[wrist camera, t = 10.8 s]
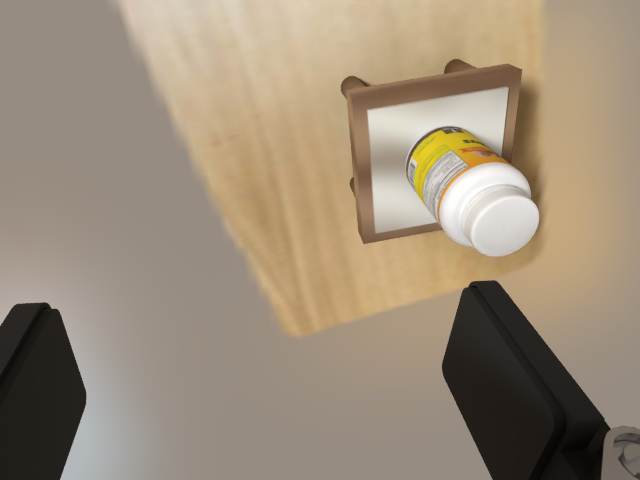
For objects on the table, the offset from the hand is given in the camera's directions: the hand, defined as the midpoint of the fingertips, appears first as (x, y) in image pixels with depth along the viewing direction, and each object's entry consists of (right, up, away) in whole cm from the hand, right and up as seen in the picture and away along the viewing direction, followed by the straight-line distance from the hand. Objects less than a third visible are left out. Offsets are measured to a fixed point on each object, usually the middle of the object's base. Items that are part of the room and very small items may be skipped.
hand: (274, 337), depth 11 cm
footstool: (+9, +12, +30) cm, 34 cm away
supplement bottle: (+10, +8, +23) cm, 26 cm away
